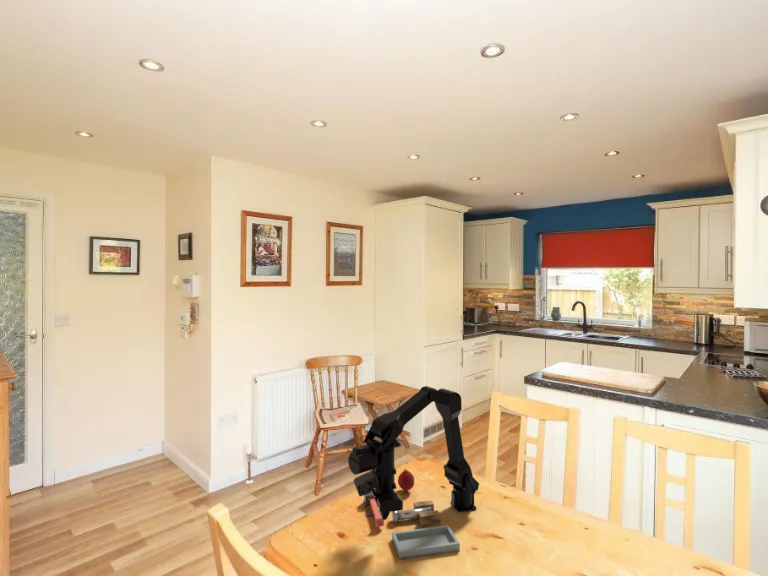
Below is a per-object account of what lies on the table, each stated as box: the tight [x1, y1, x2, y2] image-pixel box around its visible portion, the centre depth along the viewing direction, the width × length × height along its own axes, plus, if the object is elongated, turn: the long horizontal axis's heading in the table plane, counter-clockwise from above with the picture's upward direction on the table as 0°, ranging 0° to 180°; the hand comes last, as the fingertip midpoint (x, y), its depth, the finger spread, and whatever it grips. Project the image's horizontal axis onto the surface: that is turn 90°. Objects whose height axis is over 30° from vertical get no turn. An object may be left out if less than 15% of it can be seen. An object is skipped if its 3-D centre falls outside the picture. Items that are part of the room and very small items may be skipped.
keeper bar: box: [368, 497, 385, 528], centre depth 128 cm, size 2×16×2 cm, turn 12°
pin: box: [391, 507, 432, 524], centre depth 125 cm, size 12×3×3 cm, turn 102°
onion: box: [397, 468, 415, 493], centre depth 142 cm, size 6×6×8 cm
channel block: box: [413, 500, 441, 527], centre depth 126 cm, size 6×8×3 cm
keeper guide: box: [362, 491, 382, 517], centre depth 131 cm, size 5×8×4 cm, turn 12°
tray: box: [391, 524, 461, 560], centre depth 113 cm, size 17×9×2 cm, turn 102°
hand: (384, 519), depth 114 cm, fingers closed
